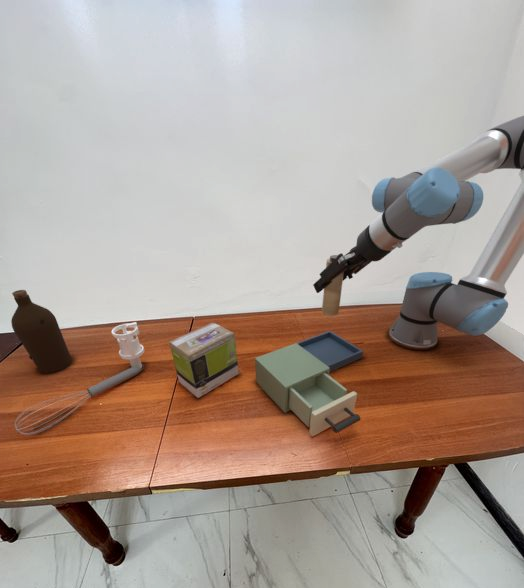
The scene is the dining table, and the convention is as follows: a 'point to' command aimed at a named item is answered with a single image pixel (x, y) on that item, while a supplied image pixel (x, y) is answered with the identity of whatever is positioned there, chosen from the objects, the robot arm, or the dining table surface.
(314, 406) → the drawer
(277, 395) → the cabinet
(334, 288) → the pepper mill
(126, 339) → the strainer
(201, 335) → the tea box
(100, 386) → the kitchen whisk
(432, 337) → the robot arm
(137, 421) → the dining table surface
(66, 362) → the olive oil
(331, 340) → the tray
